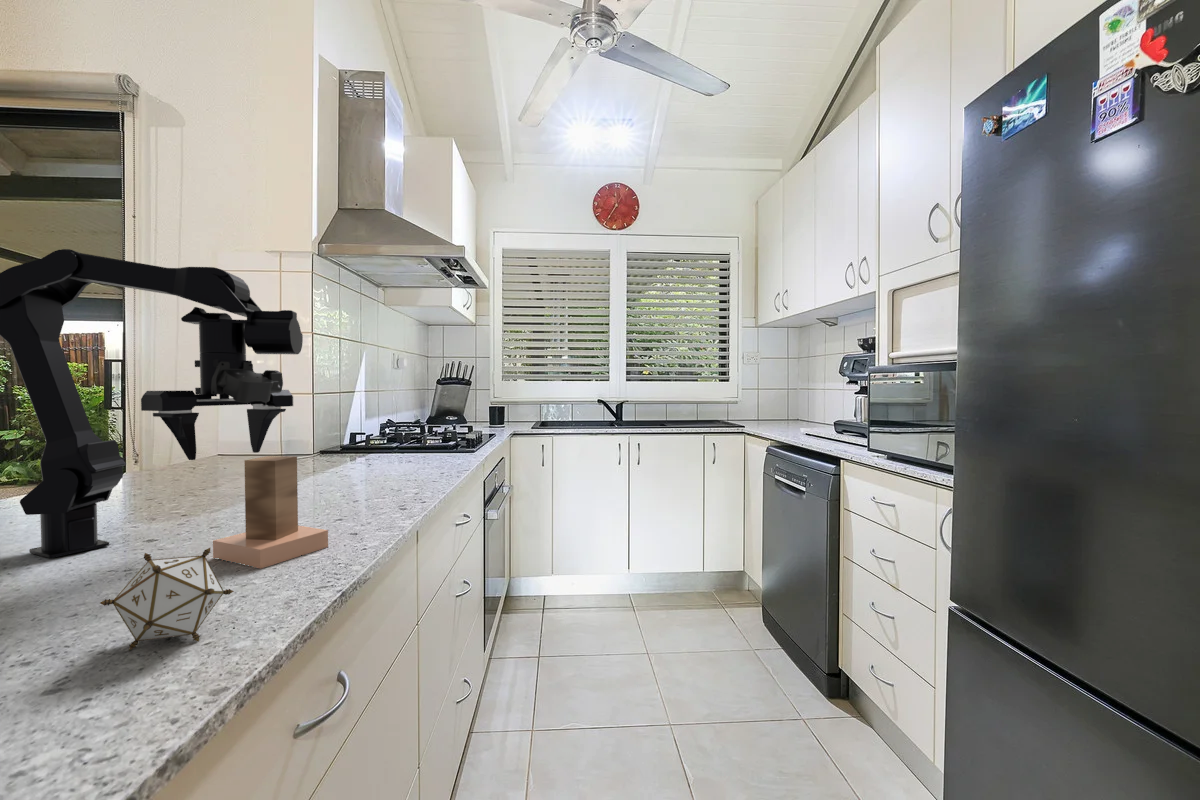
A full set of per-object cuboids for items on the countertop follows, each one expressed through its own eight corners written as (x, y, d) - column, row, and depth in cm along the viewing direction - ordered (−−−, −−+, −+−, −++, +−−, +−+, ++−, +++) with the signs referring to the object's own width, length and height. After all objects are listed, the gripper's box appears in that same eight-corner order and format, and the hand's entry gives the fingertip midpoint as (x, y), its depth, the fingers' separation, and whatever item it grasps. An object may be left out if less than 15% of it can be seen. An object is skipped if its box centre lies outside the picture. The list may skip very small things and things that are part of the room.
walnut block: (245, 539, 72) (244, 460, 72) (269, 530, 76) (268, 456, 76) (276, 540, 71) (275, 460, 71) (298, 531, 76) (296, 456, 76)
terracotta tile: (213, 558, 71) (212, 540, 71) (282, 538, 81) (282, 522, 80) (260, 568, 67) (260, 549, 67) (328, 546, 77) (328, 530, 76)
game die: (174, 686, 47) (137, 630, 41) (105, 645, 49) (59, 584, 43) (259, 606, 54) (238, 548, 48) (196, 572, 56) (168, 511, 50)
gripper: (185, 348, 67) (188, 468, 67) (315, 355, 84) (317, 451, 85) (137, 350, 72) (140, 463, 72) (270, 357, 89) (272, 448, 89)
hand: (225, 456), depth 79 cm, fingers open, 9 cm apart
